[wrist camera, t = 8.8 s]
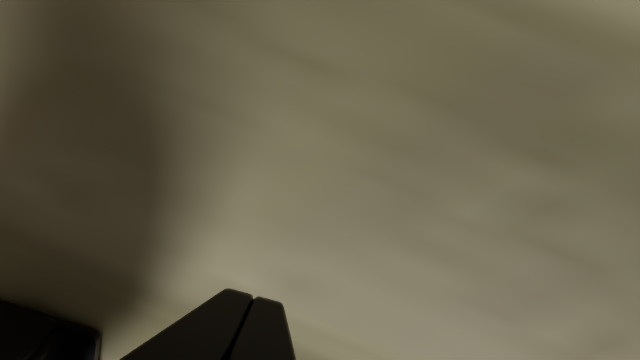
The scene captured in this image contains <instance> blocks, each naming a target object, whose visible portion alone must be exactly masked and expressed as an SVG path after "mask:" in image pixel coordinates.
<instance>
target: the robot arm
mask: <svg viewBox="0 0 640 360" xmlns="http://www.w3.org/2000/svg"><path fill="white" fill-rule="evenodd" d="M87 338H88V339H87ZM99 346H100V335H99V333H98V332H97V331H96V330H94V329H92V328H90V327H86V326H83V325H80V324H77V323H73V322H70V321H67V320H63V319H60V318H57V317H54V316H50V315H47V314H44V313H40V312H37V311H34V310H30V309H27V308H24V307H21V306H17V305H14V304H11V303H7V302H4V301H1V300H0V360H98V356H99ZM120 360H296V357H295V353H294V349H293V344H292V340H291V336H290V331H289V327H288V323H287V319H286V314H285V310H284V307H283V305H282V303H280V302H278V301H274V300H270V299H267V298H263V297H256V298H255V299H254V300H253V296H252V295H251V294H248V293H244V292H241V291H237V290H233V289H224V290H223V291H221V292H220V293H218V294H217V295H215V296H214V297H212V298H211V299H209V300H208V301H206V302H205V303H203V304H202V305H200V306H199V307H197V308H196V309H194V310H193V311H191V312H190V313H188V314H187V315H185V316H184V317H182V318H181V319H179V320H178V321H176V322H175V323H173V324H172V325H170V326H169V327H167V328H166V329H164V330H163V331H161V332H160V333H158V334H157V335H155V336H154V337H152V338H151V339H149V340H148V341H146V342H145V343H143V344H142V345H140V346H139V347H137V348H136V349H134V350H133V351H132V352H130V353H129V354H127V355H126V356H124V357H123V358H121V359H120Z"/></svg>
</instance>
